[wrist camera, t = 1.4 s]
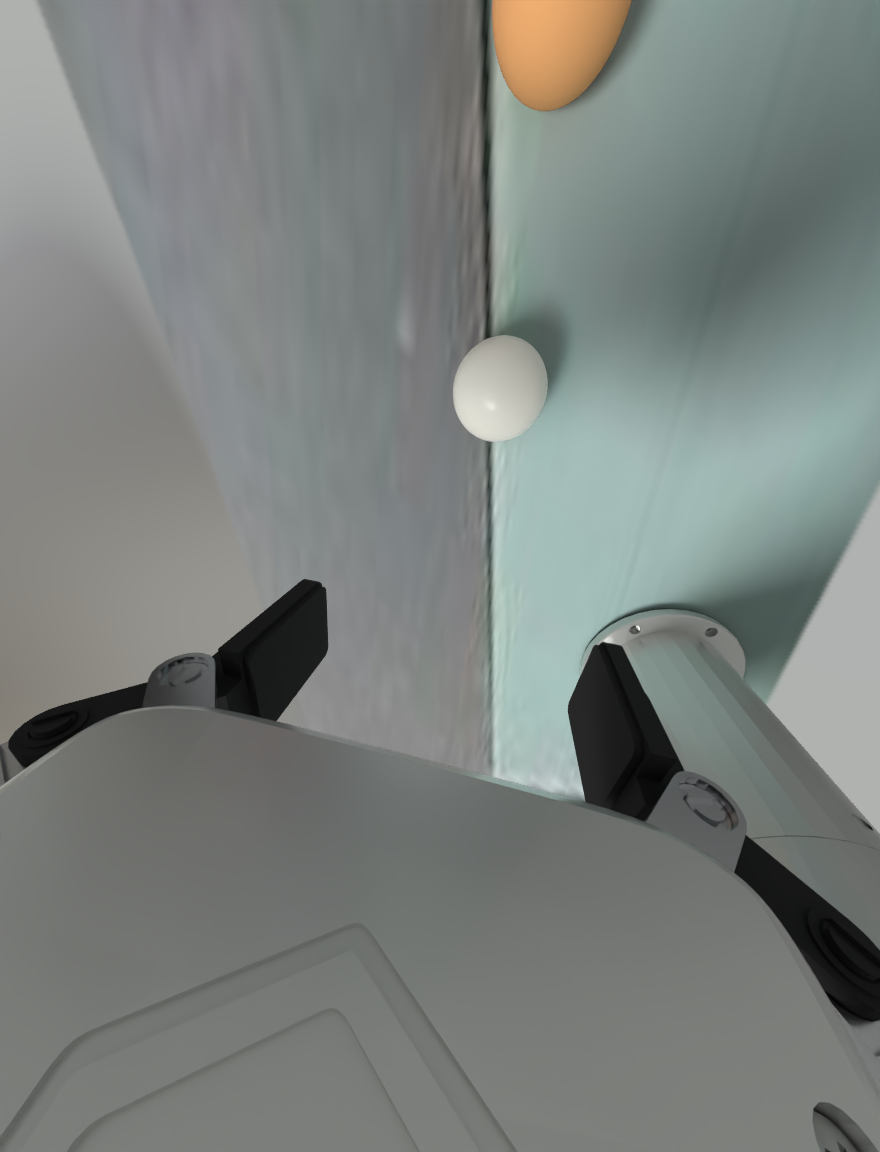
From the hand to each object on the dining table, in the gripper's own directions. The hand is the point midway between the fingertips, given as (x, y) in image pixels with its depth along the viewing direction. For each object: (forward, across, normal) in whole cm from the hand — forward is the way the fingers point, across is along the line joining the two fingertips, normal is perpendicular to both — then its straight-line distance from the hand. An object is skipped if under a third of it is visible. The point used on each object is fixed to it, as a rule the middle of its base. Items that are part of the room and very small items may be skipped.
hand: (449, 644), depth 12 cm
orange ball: (+14, +1, -22) cm, 26 cm away
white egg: (+14, 0, -8) cm, 16 cm away
